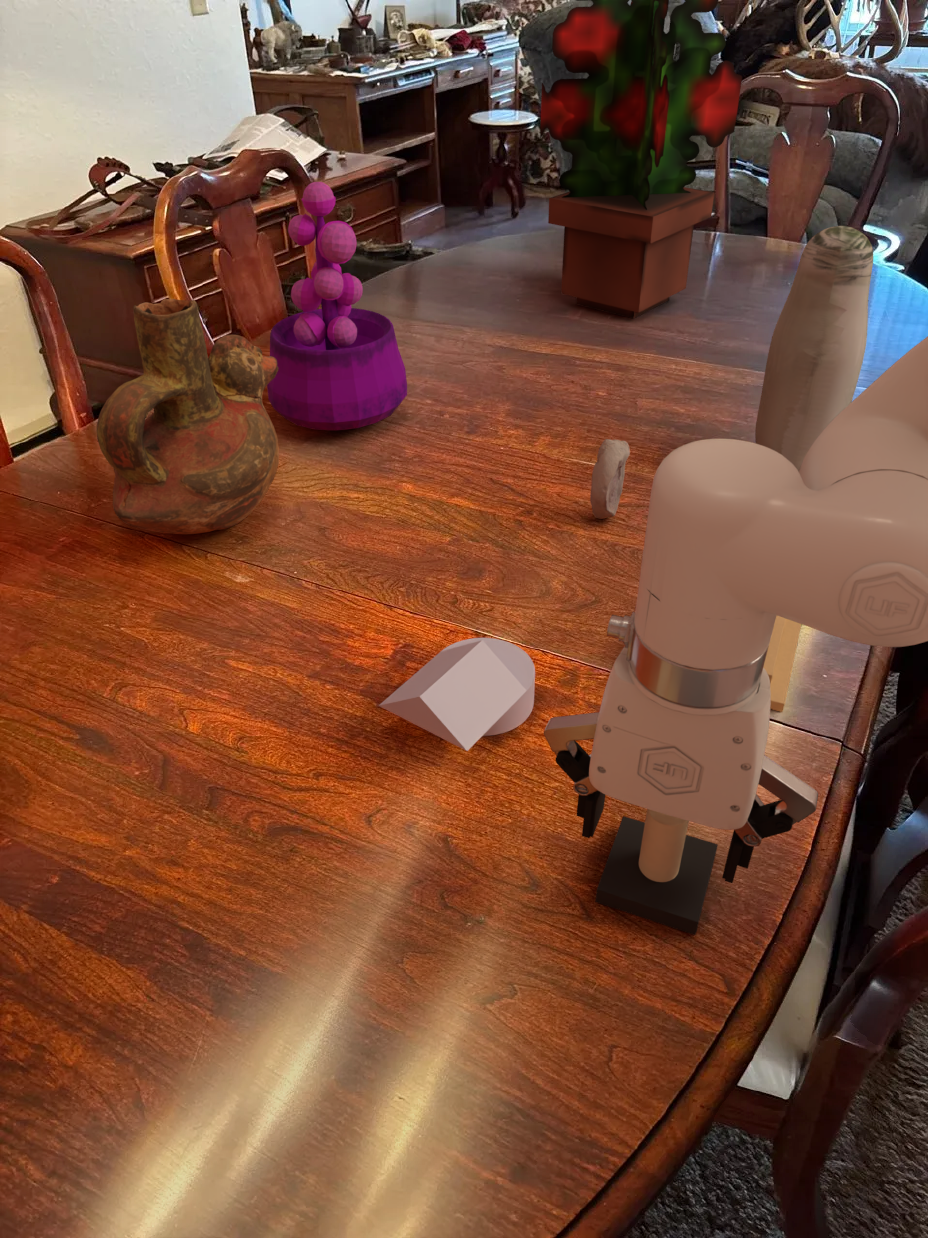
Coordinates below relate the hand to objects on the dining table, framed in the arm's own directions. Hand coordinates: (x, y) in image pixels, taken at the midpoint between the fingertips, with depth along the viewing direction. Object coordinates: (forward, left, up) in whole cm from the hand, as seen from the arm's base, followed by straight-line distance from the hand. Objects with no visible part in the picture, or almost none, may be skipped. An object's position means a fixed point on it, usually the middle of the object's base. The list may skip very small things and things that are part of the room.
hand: (660, 843), depth 63 cm
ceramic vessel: (+59, -31, -4) cm, 67 cm away
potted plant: (+34, -118, -4) cm, 123 cm away
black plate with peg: (0, 0, -4) cm, 4 cm away
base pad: (+1, -28, -4) cm, 28 cm away
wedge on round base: (+19, -11, -4) cm, 22 cm away
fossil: (+17, -46, -4) cm, 49 cm away
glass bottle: (-1, -66, -4) cm, 66 cm away
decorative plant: (+58, -59, -4) cm, 83 cm away
